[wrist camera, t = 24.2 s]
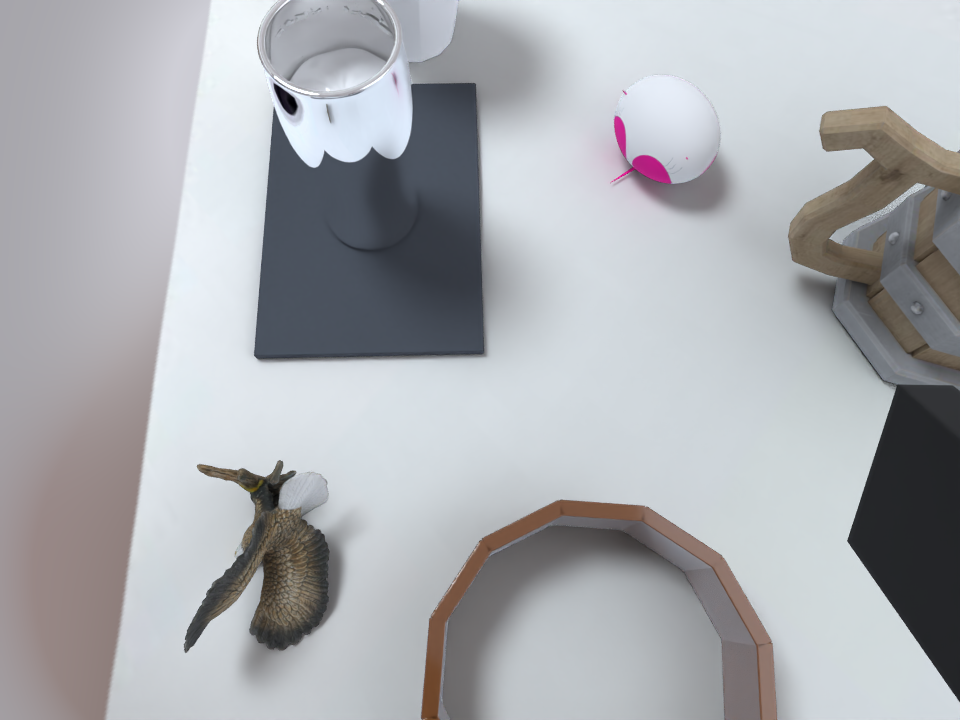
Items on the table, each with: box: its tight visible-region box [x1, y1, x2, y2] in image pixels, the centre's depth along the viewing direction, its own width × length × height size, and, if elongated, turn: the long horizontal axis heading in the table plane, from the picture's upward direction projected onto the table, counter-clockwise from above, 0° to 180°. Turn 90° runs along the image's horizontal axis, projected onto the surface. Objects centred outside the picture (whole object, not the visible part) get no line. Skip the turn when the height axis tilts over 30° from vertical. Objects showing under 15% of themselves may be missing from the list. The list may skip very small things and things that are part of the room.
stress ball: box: [612, 75, 721, 184], centre depth 46 cm, size 8×8×7 cm
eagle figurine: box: [184, 460, 329, 653], centre depth 37 cm, size 8×7×9 cm
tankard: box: [788, 106, 960, 390], centre depth 38 cm, size 20×13×15 cm, turn 73°
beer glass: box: [257, 0, 419, 251], centre depth 39 cm, size 7×7×15 cm
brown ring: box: [421, 500, 777, 720], centre depth 35 cm, size 17×17×5 cm
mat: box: [254, 83, 484, 358], centre depth 46 cm, size 20×14×1 cm
